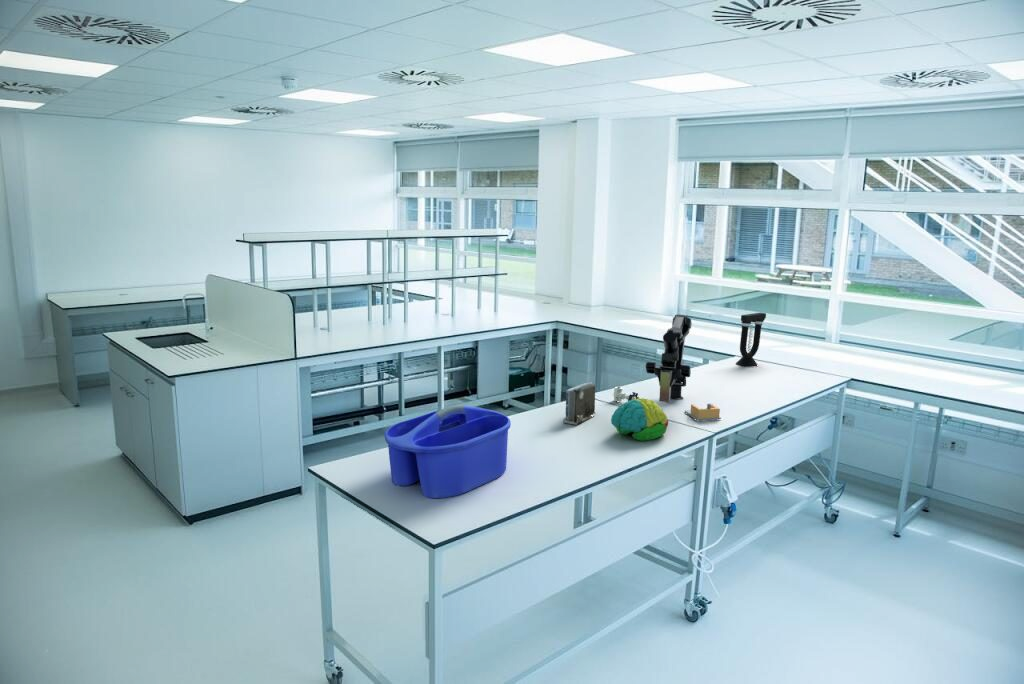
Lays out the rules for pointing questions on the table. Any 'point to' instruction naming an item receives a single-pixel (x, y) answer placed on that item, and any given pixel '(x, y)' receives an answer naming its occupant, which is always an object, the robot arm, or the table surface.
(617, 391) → the valve
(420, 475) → the caddy
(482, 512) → the table surface
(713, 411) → the keeper bracket
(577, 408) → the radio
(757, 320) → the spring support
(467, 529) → the table surface
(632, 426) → the brain model
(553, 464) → the table surface
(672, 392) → the robot arm
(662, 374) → the rectangular block
